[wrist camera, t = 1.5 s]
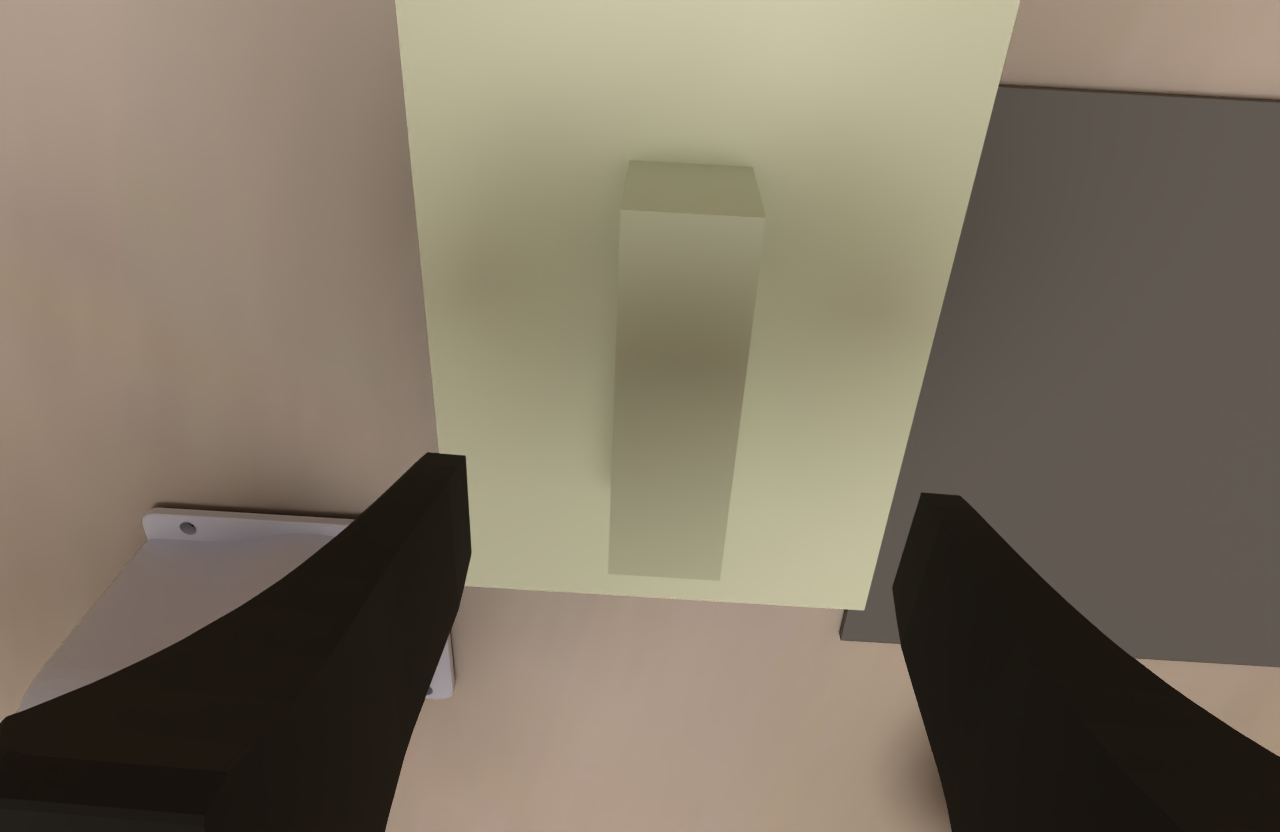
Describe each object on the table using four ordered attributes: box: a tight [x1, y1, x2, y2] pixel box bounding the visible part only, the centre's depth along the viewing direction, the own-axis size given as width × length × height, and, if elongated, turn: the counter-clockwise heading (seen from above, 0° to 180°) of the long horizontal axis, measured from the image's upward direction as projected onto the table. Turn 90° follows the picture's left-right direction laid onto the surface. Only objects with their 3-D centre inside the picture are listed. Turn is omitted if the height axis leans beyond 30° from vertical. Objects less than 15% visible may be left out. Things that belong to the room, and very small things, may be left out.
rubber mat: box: [839, 85, 1280, 667], centre depth 24 cm, size 15×18×1 cm
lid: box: [395, 0, 1020, 610], centre depth 18 cm, size 11×15×5 cm
